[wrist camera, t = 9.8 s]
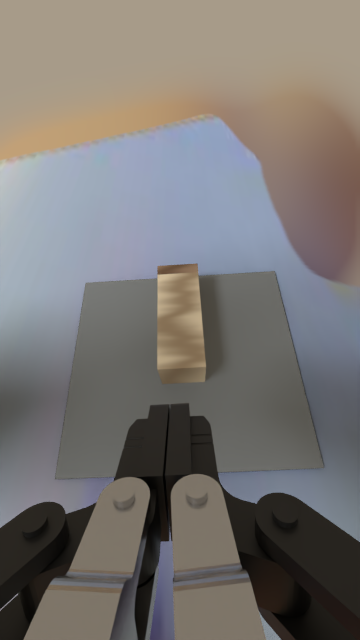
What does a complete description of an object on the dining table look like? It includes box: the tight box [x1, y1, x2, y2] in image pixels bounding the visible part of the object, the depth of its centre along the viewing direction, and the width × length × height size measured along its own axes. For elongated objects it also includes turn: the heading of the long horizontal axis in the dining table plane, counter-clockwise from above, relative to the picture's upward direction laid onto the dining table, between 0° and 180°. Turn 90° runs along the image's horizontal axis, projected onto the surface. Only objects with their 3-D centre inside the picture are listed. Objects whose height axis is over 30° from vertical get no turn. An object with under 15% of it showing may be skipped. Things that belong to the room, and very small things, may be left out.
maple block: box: [157, 264, 206, 384], centre depth 31 cm, size 4×4×12 cm
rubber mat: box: [55, 271, 324, 479], centre depth 31 cm, size 24×22×1 cm
